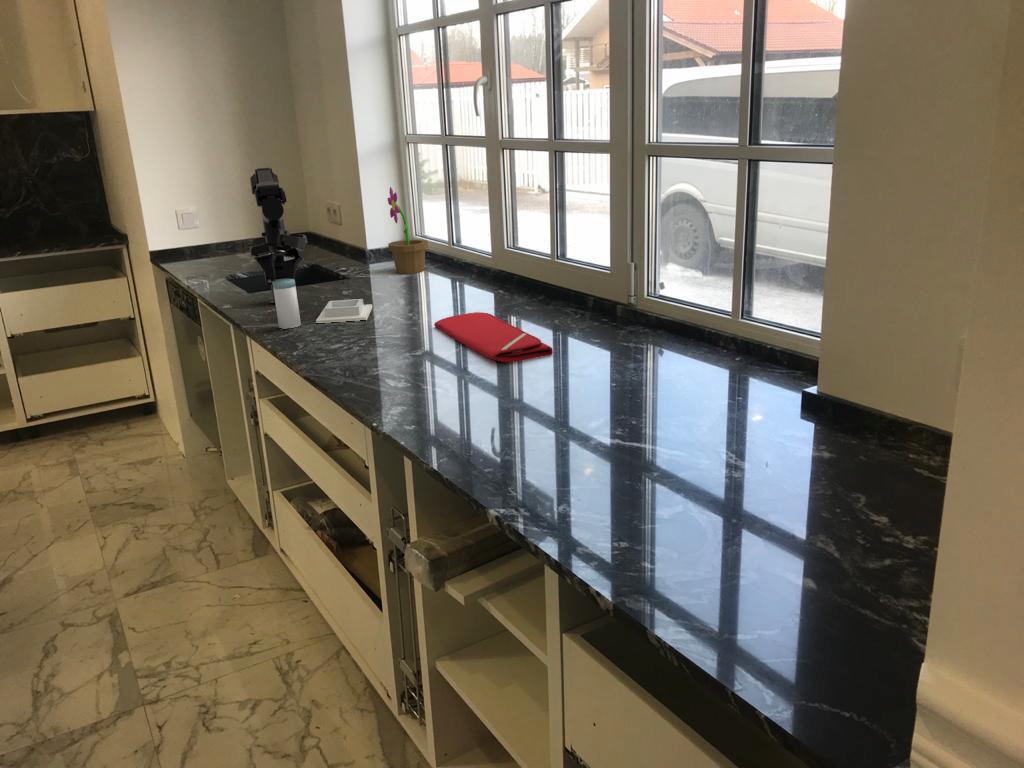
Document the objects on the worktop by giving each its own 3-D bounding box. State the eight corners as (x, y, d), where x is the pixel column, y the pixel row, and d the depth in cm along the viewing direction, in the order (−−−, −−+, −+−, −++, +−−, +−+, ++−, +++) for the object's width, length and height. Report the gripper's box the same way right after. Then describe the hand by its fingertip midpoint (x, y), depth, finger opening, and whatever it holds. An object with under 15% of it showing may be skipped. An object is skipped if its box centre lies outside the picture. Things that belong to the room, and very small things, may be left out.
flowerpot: (385, 270, 309) (376, 186, 299) (422, 265, 314) (415, 183, 304) (397, 277, 296) (388, 189, 287) (436, 271, 302) (428, 185, 292)
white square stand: (325, 310, 253) (323, 299, 252) (372, 307, 254) (371, 296, 253) (316, 324, 238) (314, 311, 237) (366, 320, 239) (364, 308, 237)
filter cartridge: (288, 323, 241) (282, 278, 237) (305, 324, 238) (299, 279, 234) (274, 328, 236) (267, 282, 231) (291, 330, 233) (284, 283, 229)
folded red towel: (487, 320, 234) (487, 307, 233) (555, 356, 198) (554, 341, 197) (434, 329, 228) (432, 315, 227) (493, 368, 192) (492, 352, 191)
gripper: (279, 218, 230) (288, 275, 230) (316, 226, 248) (324, 279, 248) (245, 226, 234) (253, 282, 234) (284, 234, 252) (292, 286, 252)
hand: (282, 282), depth 242 cm, fingers open, 9 cm apart
